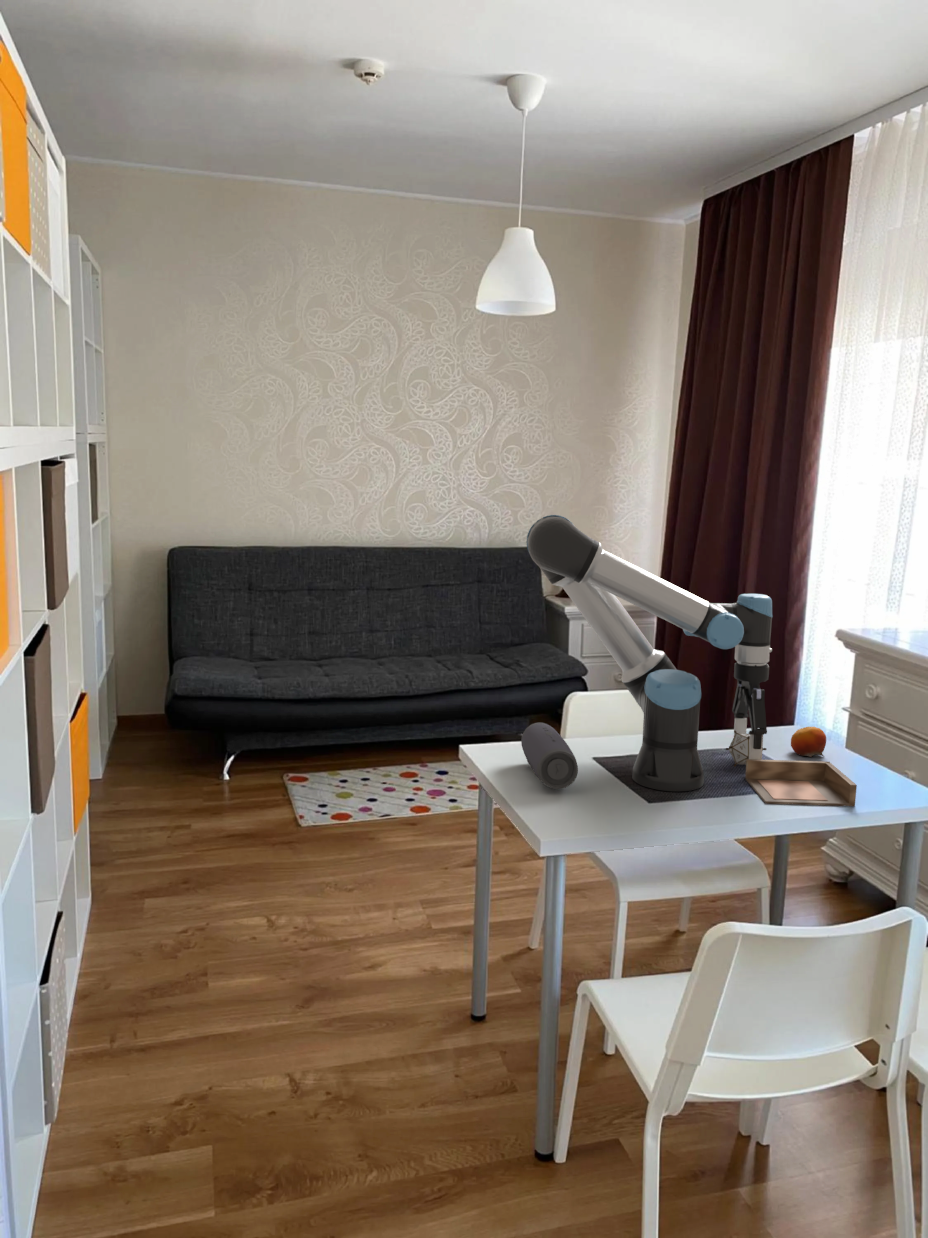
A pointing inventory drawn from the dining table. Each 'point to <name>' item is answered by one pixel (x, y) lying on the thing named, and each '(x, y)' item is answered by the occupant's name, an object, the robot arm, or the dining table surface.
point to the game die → (740, 748)
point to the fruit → (808, 741)
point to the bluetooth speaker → (549, 756)
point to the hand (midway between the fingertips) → (747, 753)
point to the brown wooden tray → (800, 782)
